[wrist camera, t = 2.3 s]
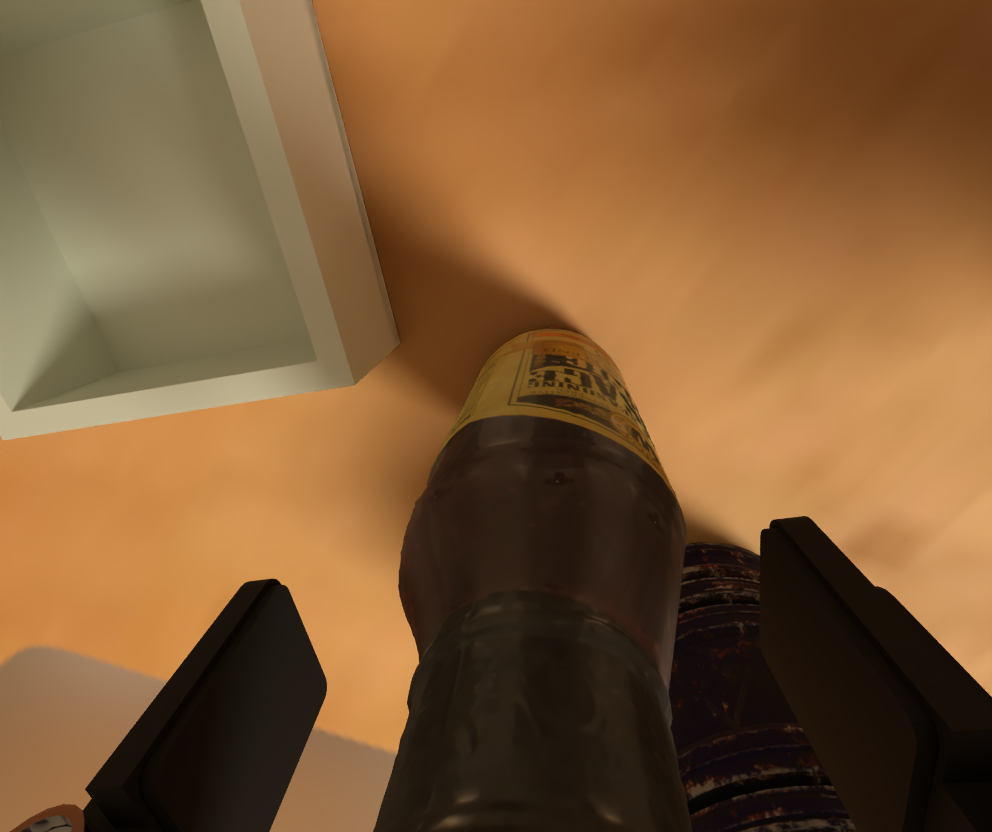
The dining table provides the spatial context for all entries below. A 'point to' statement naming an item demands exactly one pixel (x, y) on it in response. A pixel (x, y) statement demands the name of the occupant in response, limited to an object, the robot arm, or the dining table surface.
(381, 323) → the bin
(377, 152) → the dining table surface
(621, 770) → the sauce bottle
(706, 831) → the rusty oil drum
